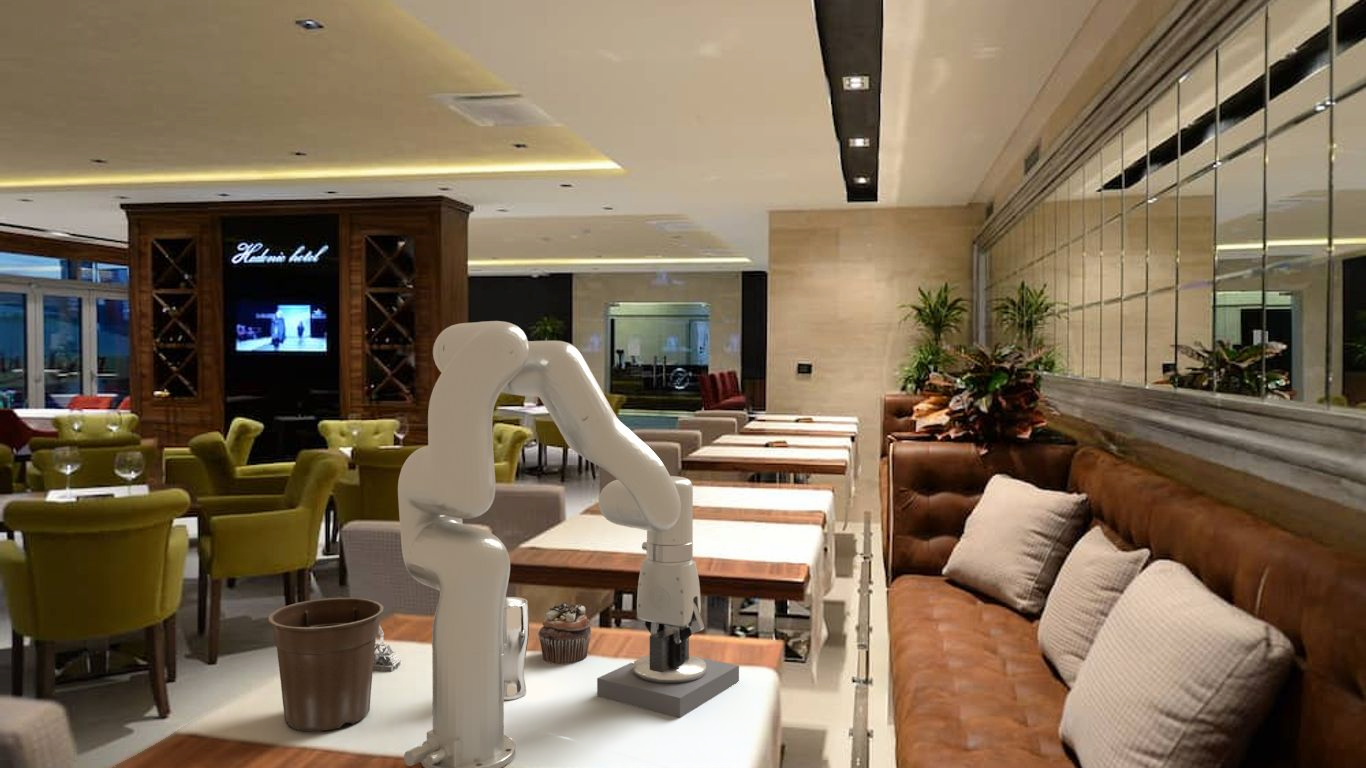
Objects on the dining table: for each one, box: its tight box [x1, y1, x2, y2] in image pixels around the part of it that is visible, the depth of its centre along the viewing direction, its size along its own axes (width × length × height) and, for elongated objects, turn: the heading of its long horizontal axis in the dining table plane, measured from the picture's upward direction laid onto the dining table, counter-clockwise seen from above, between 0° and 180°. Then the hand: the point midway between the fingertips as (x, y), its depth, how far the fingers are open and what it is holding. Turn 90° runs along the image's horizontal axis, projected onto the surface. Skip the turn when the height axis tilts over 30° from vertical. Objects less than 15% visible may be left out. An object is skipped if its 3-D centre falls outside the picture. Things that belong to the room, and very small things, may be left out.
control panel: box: [596, 653, 740, 718], centre depth 151 cm, size 18×16×3 cm
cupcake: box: [537, 601, 592, 665], centre depth 167 cm, size 10×10×10 cm
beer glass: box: [503, 596, 530, 701], centre depth 149 cm, size 7×7×15 cm
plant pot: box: [268, 597, 384, 732], centre depth 140 cm, size 16×16×16 cm
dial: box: [633, 625, 706, 683], centre depth 151 cm, size 12×12×6 cm
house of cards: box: [373, 624, 402, 672], centre depth 164 cm, size 9×9×8 cm
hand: (669, 662), depth 151 cm, fingers closed on dial, 2 cm apart
